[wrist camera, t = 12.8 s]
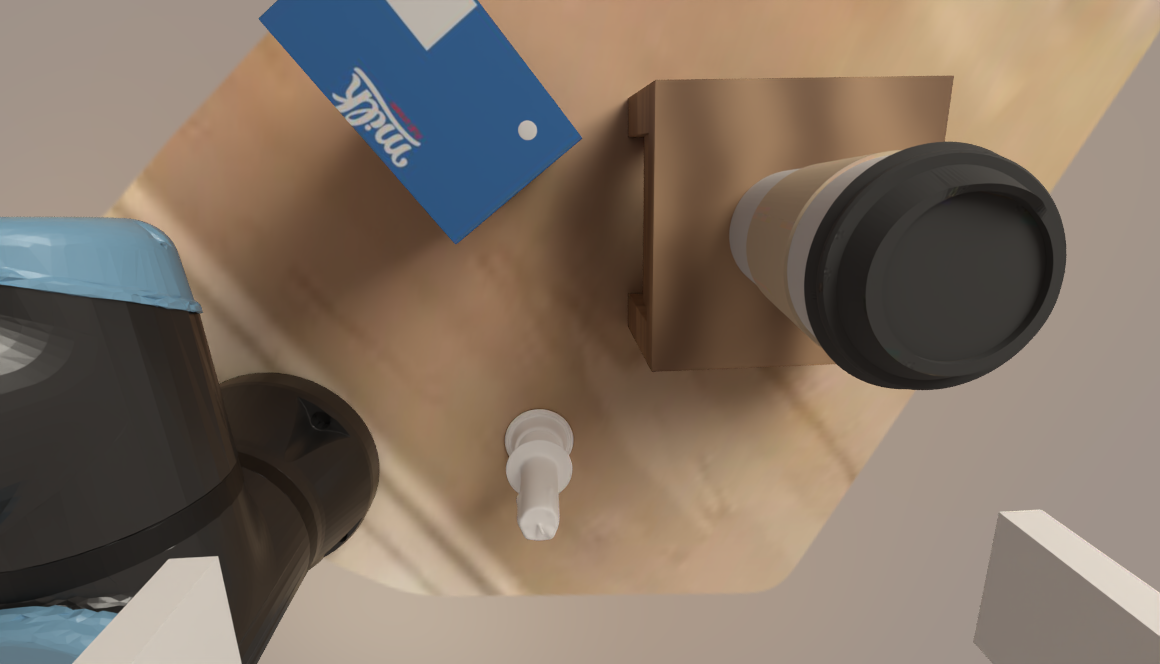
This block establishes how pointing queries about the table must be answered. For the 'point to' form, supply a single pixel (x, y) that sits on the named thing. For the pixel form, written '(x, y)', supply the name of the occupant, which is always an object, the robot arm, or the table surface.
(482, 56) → the milk carton
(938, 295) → the coffee cup
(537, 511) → the candle
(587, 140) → the table surface
